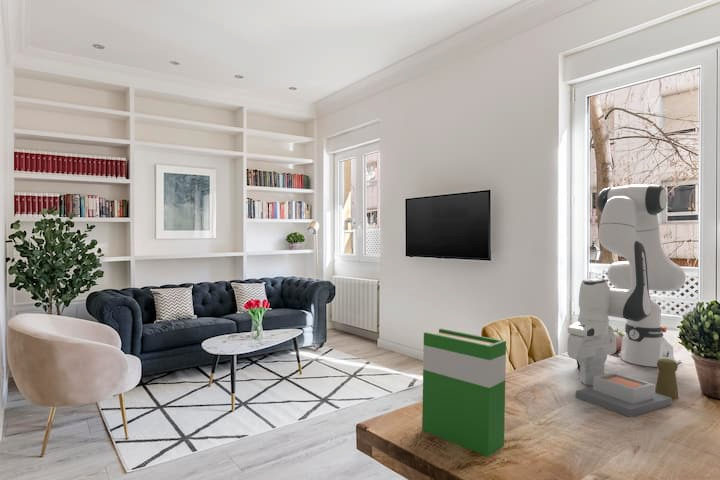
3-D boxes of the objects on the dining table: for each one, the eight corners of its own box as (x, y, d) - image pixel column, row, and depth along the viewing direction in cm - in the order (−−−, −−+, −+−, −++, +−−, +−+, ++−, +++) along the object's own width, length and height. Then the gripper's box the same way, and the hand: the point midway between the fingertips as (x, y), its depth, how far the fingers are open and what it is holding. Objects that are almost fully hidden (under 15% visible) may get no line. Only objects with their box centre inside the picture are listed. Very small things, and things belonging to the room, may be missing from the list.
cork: (682, 399, 131) (683, 363, 131) (660, 398, 132) (660, 361, 132) (672, 392, 137) (673, 357, 137) (651, 391, 138) (651, 356, 138)
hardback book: (422, 430, 108) (423, 332, 107) (439, 421, 113) (441, 328, 113) (488, 456, 95) (490, 346, 95) (504, 445, 101) (506, 341, 100)
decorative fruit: (599, 350, 188) (599, 326, 187) (614, 349, 190) (614, 326, 190) (618, 356, 179) (618, 331, 178) (633, 354, 181) (634, 330, 181)
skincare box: (598, 381, 146) (599, 345, 146) (604, 385, 142) (605, 349, 142) (579, 380, 147) (580, 345, 147) (584, 385, 143) (585, 348, 143)
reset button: (616, 383, 134) (616, 376, 134) (643, 391, 127) (643, 384, 127) (603, 386, 131) (603, 379, 131) (630, 394, 124) (630, 387, 124)
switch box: (617, 387, 141) (617, 368, 141) (671, 404, 127) (671, 384, 127) (575, 396, 132) (576, 377, 132) (629, 416, 118) (629, 394, 118)
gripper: (604, 323, 152) (603, 363, 152) (564, 328, 142) (563, 370, 143) (622, 326, 146) (621, 368, 146) (581, 332, 137) (580, 376, 137)
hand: (592, 369), depth 144 cm, fingers closed on skincare box, 7 cm apart
